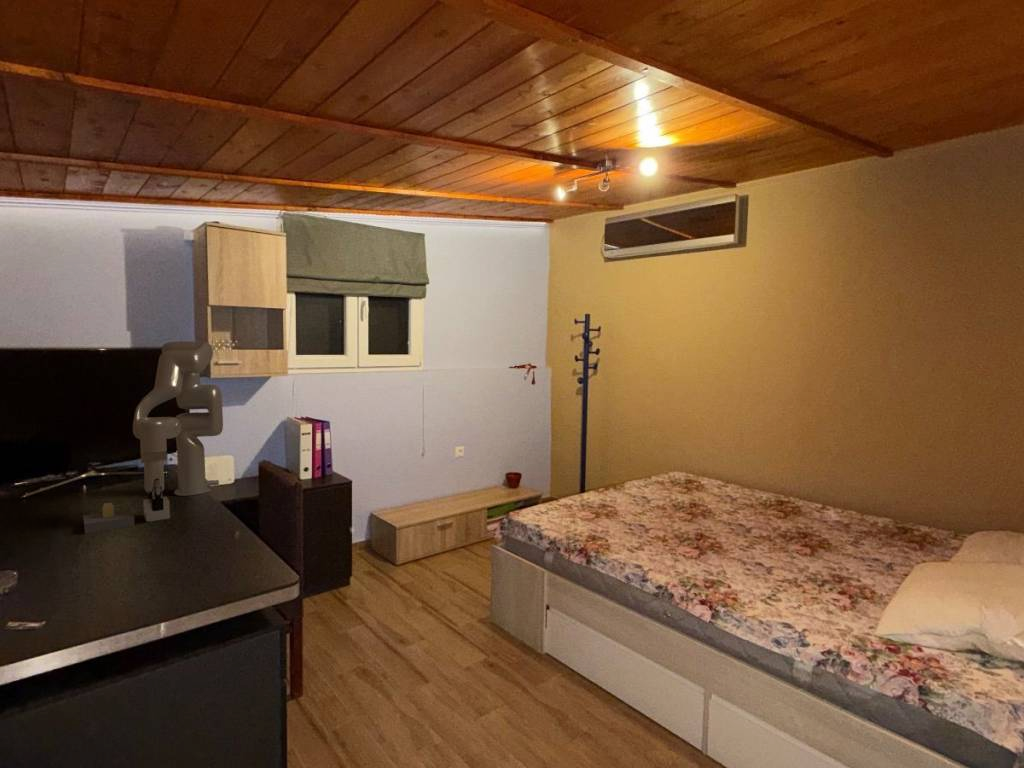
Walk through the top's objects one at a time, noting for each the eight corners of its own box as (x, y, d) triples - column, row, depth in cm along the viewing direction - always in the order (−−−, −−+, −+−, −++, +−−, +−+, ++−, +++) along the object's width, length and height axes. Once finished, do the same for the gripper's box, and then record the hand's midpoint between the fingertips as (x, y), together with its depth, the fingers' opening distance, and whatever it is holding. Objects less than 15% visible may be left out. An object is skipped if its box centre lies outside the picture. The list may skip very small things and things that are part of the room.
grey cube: (167, 513, 209) (166, 496, 208) (170, 518, 203) (169, 500, 203) (144, 517, 205) (143, 499, 204) (146, 521, 199) (145, 503, 199)
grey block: (130, 517, 205) (129, 496, 205) (134, 526, 195) (133, 504, 194) (83, 524, 197) (82, 502, 197) (85, 533, 187) (83, 511, 186)
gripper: (138, 454, 207) (140, 504, 208) (143, 461, 193) (145, 514, 194) (163, 452, 212) (165, 501, 213) (170, 459, 198) (172, 510, 199)
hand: (156, 507), depth 203 cm, fingers open, 9 cm apart
